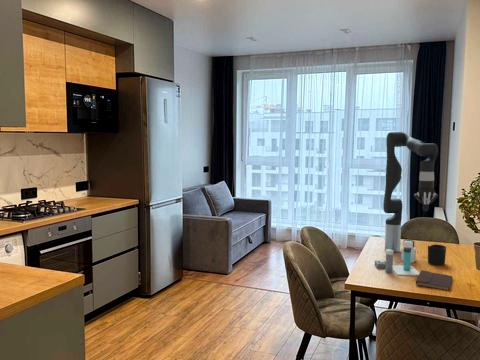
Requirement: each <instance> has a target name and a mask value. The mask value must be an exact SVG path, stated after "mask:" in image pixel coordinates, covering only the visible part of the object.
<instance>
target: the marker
mask: <svg viewBox="0 0 480 360" xmlns="http://www.w3.org/2000/svg"><path fill="white" fill-rule="evenodd" d="M402 262H403V263H402V266H403V270H405V271H410V266H412V265H411V264H412V263H411V248H410V247H404V258H403V261H402Z"/></svg>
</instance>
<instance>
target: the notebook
mask: <svg viewBox="0 0 480 360" xmlns="http://www.w3.org/2000/svg"><path fill="white" fill-rule="evenodd" d="M419 273H420V274H419V276H417V278H416V280H415V285H417V286H421V287H427V288H433V289H438V290H443V291H448V292H449V291H451V288H452V281H453V275H449V274H444V273H438V272H431V271H429V270H423V269H420V271H419Z"/></svg>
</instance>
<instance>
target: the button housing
mask: <svg viewBox="0 0 480 360" xmlns="http://www.w3.org/2000/svg"><path fill="white" fill-rule="evenodd" d="M380 261H381V260H374V266H375V268H376V269H381V270H382V269H384V270H385V269H386V260H384V261H385V263H380Z"/></svg>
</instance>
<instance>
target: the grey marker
mask: <svg viewBox="0 0 480 360" xmlns="http://www.w3.org/2000/svg"><path fill="white" fill-rule="evenodd" d="M385 261H386V269H384V270H385V273H386V274H393V272H394V271H393V266H394V252H393V250H391V249H386V250H385Z"/></svg>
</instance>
